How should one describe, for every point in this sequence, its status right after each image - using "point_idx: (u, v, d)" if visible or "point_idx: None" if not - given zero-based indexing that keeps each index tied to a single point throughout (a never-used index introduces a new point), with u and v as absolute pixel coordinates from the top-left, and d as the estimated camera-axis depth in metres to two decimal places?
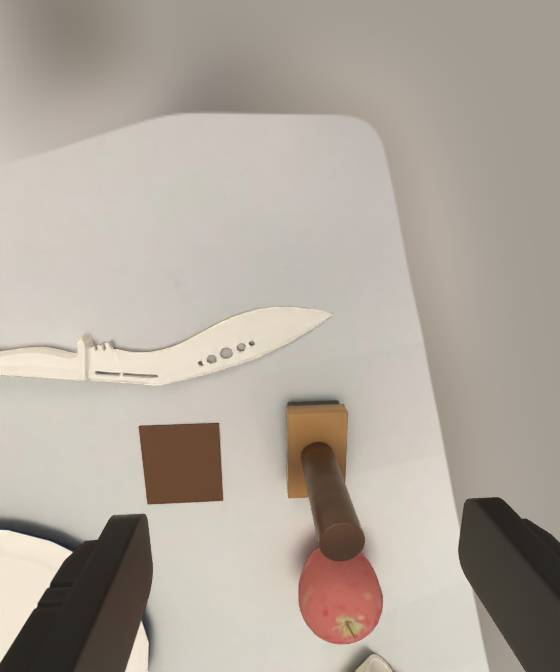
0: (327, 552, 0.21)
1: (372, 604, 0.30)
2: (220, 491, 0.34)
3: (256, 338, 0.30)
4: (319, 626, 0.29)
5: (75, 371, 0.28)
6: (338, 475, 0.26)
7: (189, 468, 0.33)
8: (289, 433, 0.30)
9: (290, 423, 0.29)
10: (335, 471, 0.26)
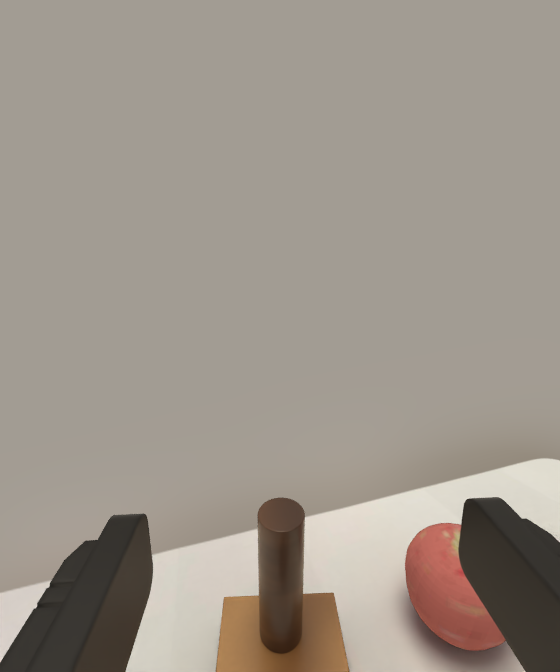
0: (293, 524, 0.20)
1: (429, 528, 0.27)
2: None
3: None
4: None
5: None
6: None
7: None
8: None
9: None
10: None
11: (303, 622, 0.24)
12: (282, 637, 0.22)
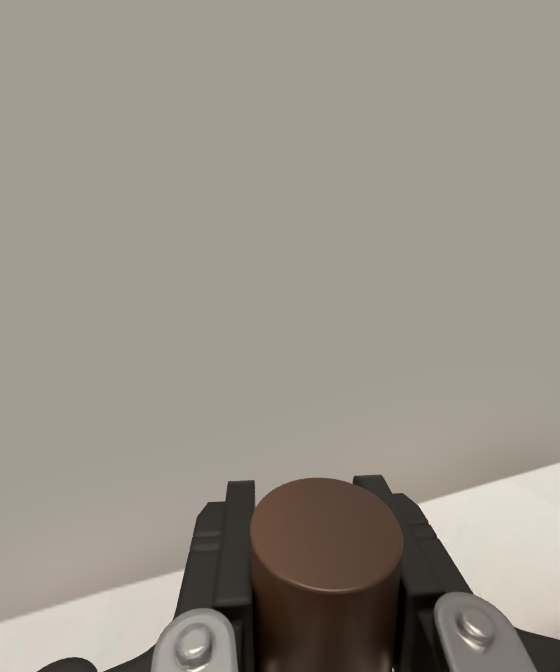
0: (372, 559, 0.06)
1: None
2: None
3: None
4: None
5: None
6: None
7: None
8: None
9: None
10: None
11: None
12: None
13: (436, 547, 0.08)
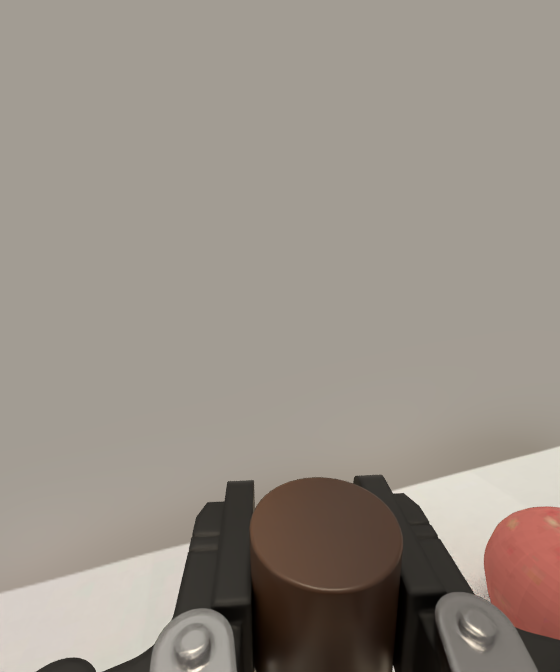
0: (372, 558, 0.06)
1: (521, 514, 0.18)
2: None
3: None
4: None
5: None
6: None
7: None
8: None
9: None
10: None
11: None
12: None
13: (437, 547, 0.08)
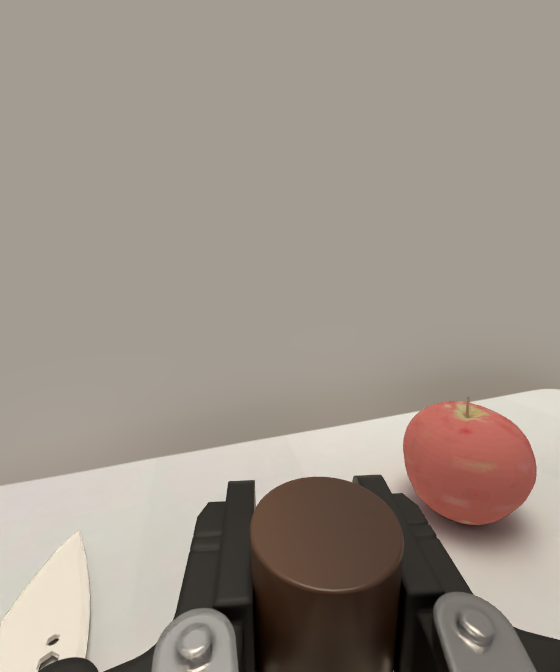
0: (372, 559, 0.06)
1: (429, 406, 0.25)
2: None
3: (48, 631, 0.16)
4: (493, 434, 0.20)
5: None
6: None
7: None
8: None
9: None
10: None
11: None
12: None
13: (436, 547, 0.08)
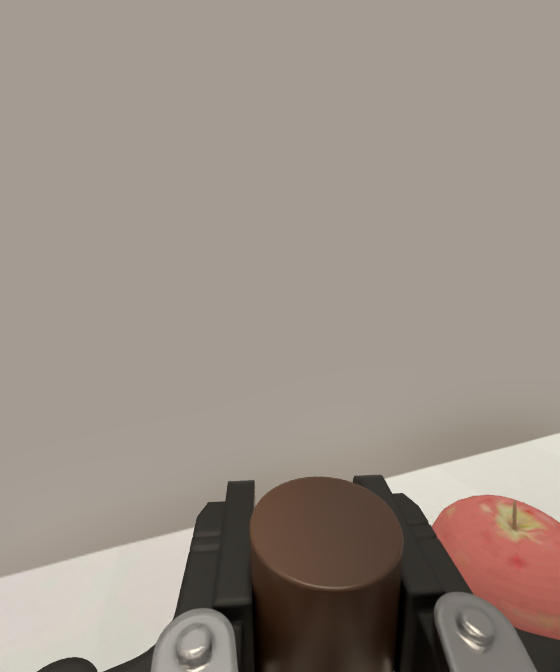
0: (372, 557, 0.06)
1: (460, 502, 0.19)
2: None
3: None
4: (557, 568, 0.15)
5: None
6: None
7: None
8: None
9: None
10: None
11: None
12: None
13: (436, 547, 0.08)
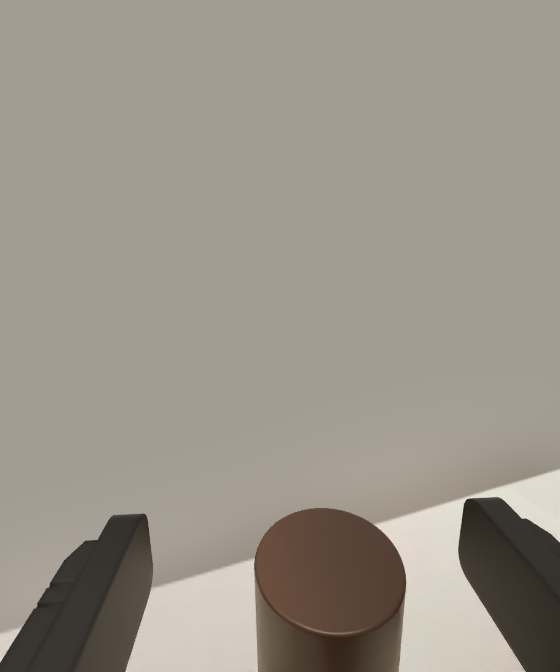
0: (375, 600, 0.06)
1: None
2: None
3: None
4: None
5: None
6: None
7: None
8: None
9: None
10: None
11: None
12: None
13: None
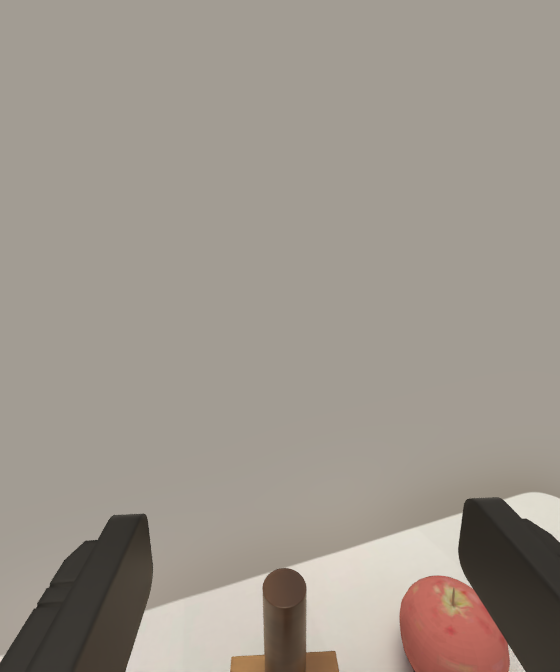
0: (295, 599, 0.22)
1: (422, 582, 0.29)
2: None
3: None
4: (473, 636, 0.25)
5: None
6: None
7: None
8: None
9: None
10: None
11: None
12: None
13: None
